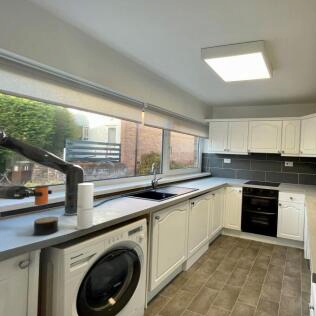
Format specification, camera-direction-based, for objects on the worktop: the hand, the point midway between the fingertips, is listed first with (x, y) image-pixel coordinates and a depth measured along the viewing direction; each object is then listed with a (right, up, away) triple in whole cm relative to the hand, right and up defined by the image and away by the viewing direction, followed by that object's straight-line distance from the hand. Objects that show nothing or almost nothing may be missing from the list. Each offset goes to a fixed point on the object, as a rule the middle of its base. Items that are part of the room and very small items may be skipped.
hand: (46, 193), depth 109 cm
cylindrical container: (+18, -20, +4) cm, 28 cm away
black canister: (+5, -20, -5) cm, 21 cm away
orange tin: (-3, -6, 0) cm, 7 cm away
